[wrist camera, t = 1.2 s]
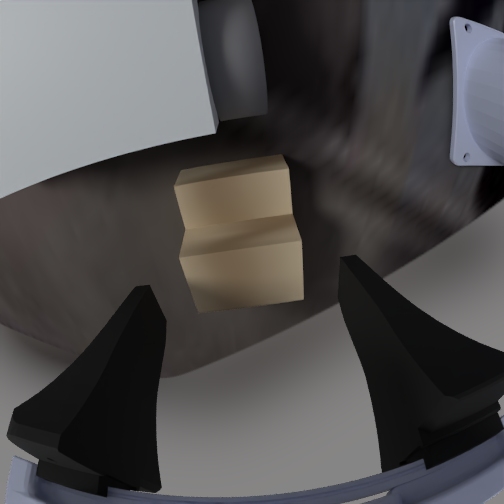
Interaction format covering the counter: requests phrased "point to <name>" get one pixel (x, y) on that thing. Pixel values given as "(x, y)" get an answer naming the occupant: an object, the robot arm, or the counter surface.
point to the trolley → (119, 79)
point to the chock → (240, 234)
